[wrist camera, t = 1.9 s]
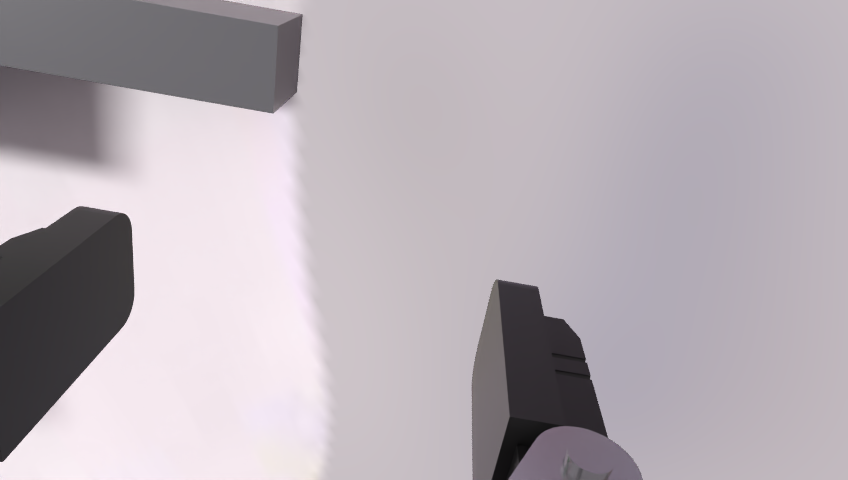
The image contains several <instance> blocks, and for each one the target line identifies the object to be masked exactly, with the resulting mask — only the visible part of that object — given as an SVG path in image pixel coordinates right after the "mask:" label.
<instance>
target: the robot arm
mask: <svg viewBox="0 0 848 480" xmlns="http://www.w3.org/2000/svg"><path fill="white" fill-rule="evenodd" d="M133 301H134V270H133V246H132V227H131V222H130V219H129V218H128V216H127V215H126V214H123V213H118V212H112V211H106V210H100V209H95V208H89V207H83V206H79V207H76V208H75V209H73V210H72V211H70V212H69V213H67V214H66V215H64V216H63V217H61V218H60V219H59V220H57V221H56V222H54V223H53V224H51V225H50V226H48V227H47V228H41V229H38V230H35V231H32V232H29V233H26V234H23V235H20V236H17V237H14V238H11V239H9V240H8V241H6V242H5V243H3V244H2V245H0V462H3V461H4V460H5V459H6V458H7V457H8V456H9V454H10V453H11V452H12V451H13V450H14V449H15V448H16V447H17V445H18V444H19V443H20V442H21V441H22V440H23V439H24V438H25V436H26V435H27V434H28V433H29V432H30V431H31V430H32V429H33V427H34V426H35V425H36V424H37V423H38V422H39V421H40V420H41V418H42V417H43V416H44V415H45V414H46V413H47V412H48V411H49V409H50V408H51V407H52V406H53V405H54V404H55V403H56V402H57V400H58V399H59V398H60V397H61V396H62V395H63V394H64V393H65V391H66V390H67V389H68V388H69V387H70V386H71V385H72V384H73V382H74V381H75V380H76V379H77V378H78V377H79V376H80V375H81V373H82V372H83V371H84V370H85V369H86V368H87V367H88V366H89V364H90V363H91V362H92V361H93V360H94V359H95V358H96V356H97V355H98V354H99V353H100V352H101V351H102V350H103V349H104V347H105V346H106V345H107V344H108V343H109V342H110V341H111V340H112V338H113V337H114V336H115V335H116V334H117V333H118V332H119V331H120V329H121V328H122V327H123V326H124V325H125V323H126V321H127V319H128V317H129V315H130V312H131V309H132V306H133ZM585 360H586V358H585V354H584V351H583V348H582V344H581V340H580V338H579V337H578V336H577V335H576V333H575V332H574V331H573V330H572V329H571V328H570V327H569V325H568V324H567V323H566V322H565V321H564V320H563V319H558V318H552V317H547V316H544V314H543V309H542V304H541V299H540V294H539V289H538V287H536V286H531V285H525V284H519V283H514V282H508V281H502V280H495V282H494V284H493V288H492V291H491V294H490V299H489V303H488V307H487V311H486V315H485V319H484V323H483V327H482V332H481V336H480V340H479V344H478V348H477V352H476V357H475V362H474V369H473V377H472V456H473V459H472V460H473V480H643V479H642V475H641V472H640V470H639V468H638V466H637V465H636V463H635V462H634V460H633V459H632V458H631V457H630V455H629V454H628V453H627V452H626V451H625V450H624V449H622V448H621V447H620V446H619V445H618V444H616V443H615V442H613V441H612V440H610V439H609V438H608V436H607V433H606V429H605V426H604V422H603V418H602V415H601V411H600V408H599V404H598V401H597V397H596V394H595V390H594V387H593V383H592V380H590V372H589V369H588V365H587V363H585Z"/></svg>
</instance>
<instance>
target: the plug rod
mask: <svg viewBox="0 0 848 480" xmlns="http://www.w3.org/2000/svg"><path fill="white" fill-rule="evenodd" d="M301 27H302V14H297V13H292V12H286V11H281V10H275V9H269V8H264V7H258V6H252V5H247V4H241V3H236V2H230V1H224V0H0V66H6V67H11V68H17V69H23V70H28V71H34V72H40V73H46V74H51V75H57V76H63V77H68V78H74V79H80V80H85V81H91V82H97V83H102V84H108V85H114V86H120V87H125V88H131V89H137V90H142V91H148V92H154V93H159V94H165V95H171V96H177V97H182V98H188V99H194V100H199V101H205V102H211V103H216V104H222V105H228V106H234V107H239V108H245V109H251V110H256V111H262V112H268V113H274V112H275V111H276V110H278V109H279V108H280V107H281V106H282V105H283V104H284V103H285V102H286V101H287V100H289V99H290V98H291V97H292V96H293V95H294V94H295V93H296V92H297V82H298V69H299V55H300V41H301Z"/></svg>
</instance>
